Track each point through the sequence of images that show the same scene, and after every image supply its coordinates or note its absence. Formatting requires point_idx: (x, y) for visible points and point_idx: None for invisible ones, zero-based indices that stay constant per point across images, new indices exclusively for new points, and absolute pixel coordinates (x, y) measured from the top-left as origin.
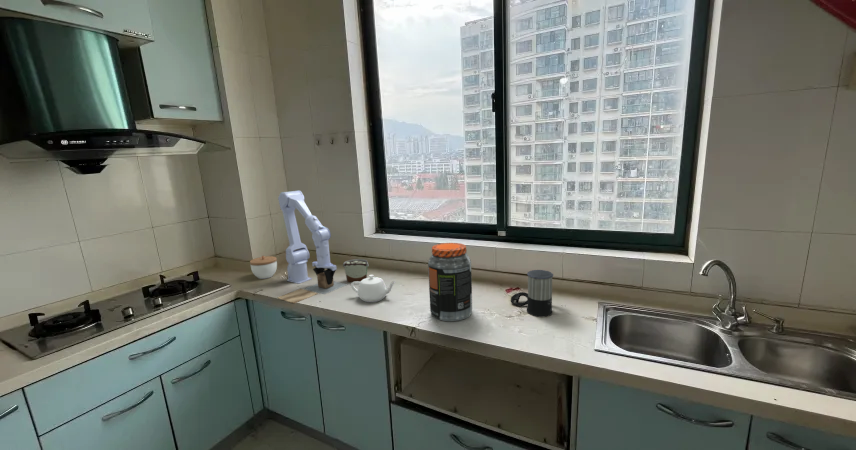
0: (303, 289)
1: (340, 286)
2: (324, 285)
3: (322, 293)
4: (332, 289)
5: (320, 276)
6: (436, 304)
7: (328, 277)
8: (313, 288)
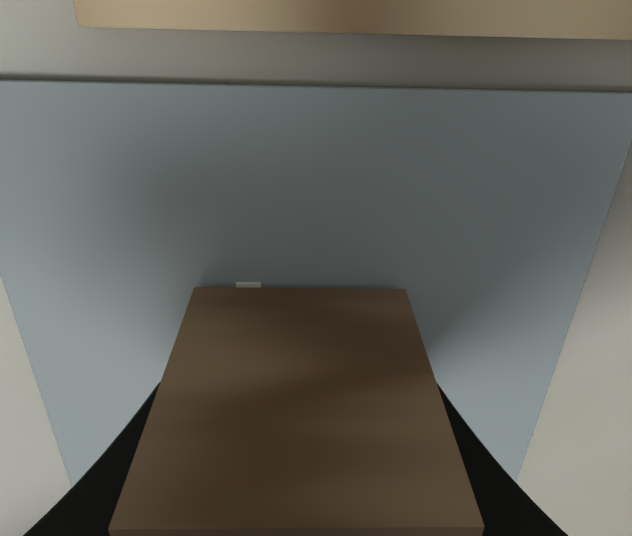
0: (618, 37)
1: (95, 450)
2: (199, 324)
3: (18, 96)
4: (76, 328)
5: (307, 488)
6: None
7: (43, 529)
8: (446, 203)
